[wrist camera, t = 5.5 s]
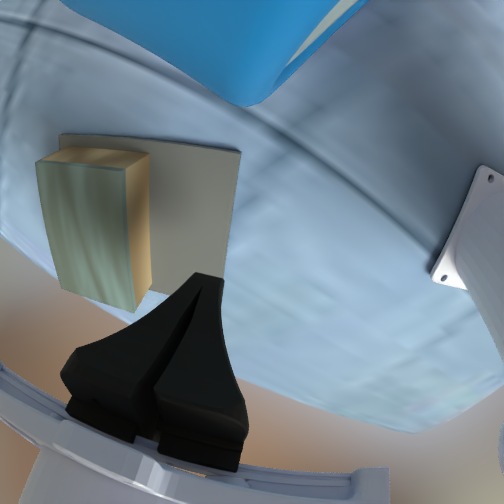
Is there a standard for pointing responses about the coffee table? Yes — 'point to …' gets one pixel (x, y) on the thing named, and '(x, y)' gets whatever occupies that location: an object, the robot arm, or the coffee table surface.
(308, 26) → the alarm clock
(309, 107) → the coffee table surface
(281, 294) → the coffee table surface
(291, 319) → the coffee table surface
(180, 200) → the rubber mat
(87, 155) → the oak slab
